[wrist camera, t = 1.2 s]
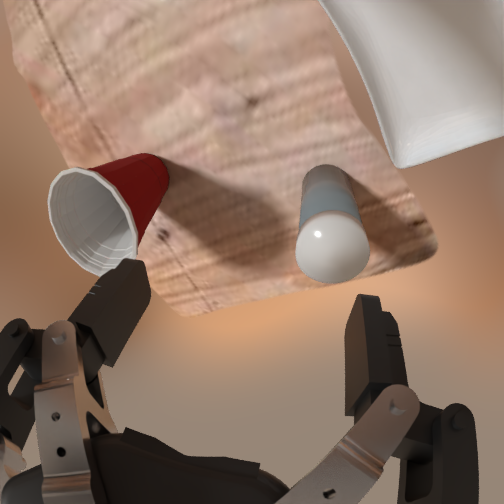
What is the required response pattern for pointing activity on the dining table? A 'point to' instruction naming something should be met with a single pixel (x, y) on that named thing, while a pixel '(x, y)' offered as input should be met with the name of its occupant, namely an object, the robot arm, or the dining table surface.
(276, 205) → the dining table surface
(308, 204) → the shaker
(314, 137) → the dining table surface
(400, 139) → the salad plate
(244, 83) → the dining table surface
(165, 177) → the plastic cup
